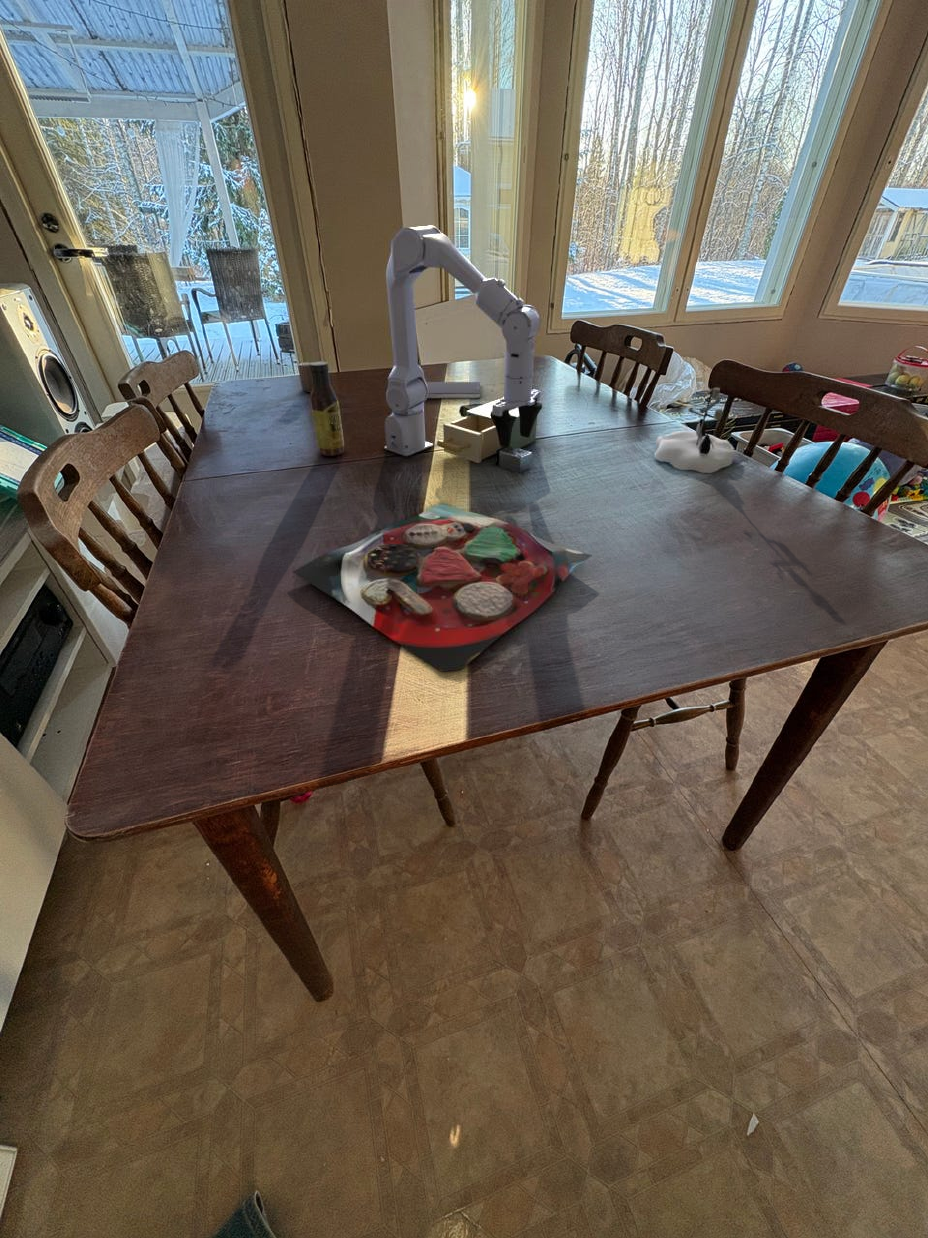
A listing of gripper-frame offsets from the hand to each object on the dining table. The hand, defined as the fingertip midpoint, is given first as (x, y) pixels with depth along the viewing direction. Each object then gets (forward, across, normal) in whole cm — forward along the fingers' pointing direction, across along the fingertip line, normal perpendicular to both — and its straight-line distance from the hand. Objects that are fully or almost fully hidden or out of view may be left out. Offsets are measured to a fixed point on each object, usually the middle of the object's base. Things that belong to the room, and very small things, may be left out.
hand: (514, 440), depth 114 cm
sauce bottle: (+6, -22, +39) cm, 45 cm away
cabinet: (+6, +10, +12) cm, 16 cm away
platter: (+6, -42, -18) cm, 46 cm away
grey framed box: (+6, 0, 0) cm, 6 cm away
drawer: (+5, -1, +12) cm, 13 cm away
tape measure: (+6, +19, +28) cm, 35 cm away
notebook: (+6, +33, +52) cm, 62 cm away
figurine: (+6, +33, -28) cm, 44 cm away
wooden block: (+6, +6, +86) cm, 87 cm away
